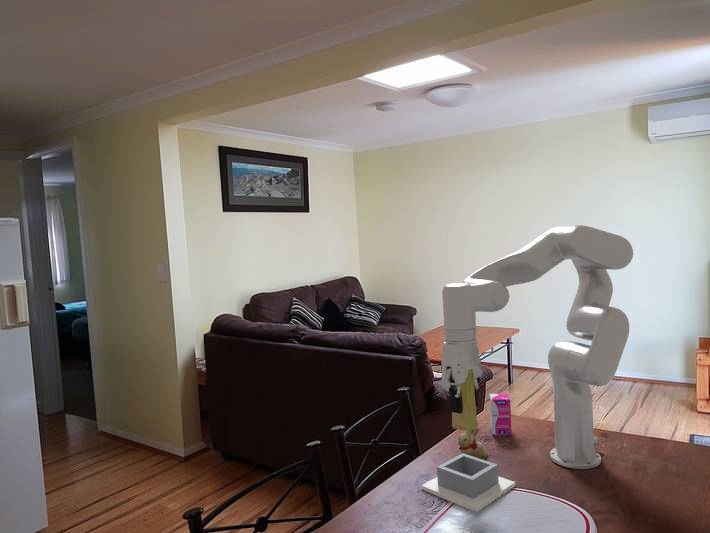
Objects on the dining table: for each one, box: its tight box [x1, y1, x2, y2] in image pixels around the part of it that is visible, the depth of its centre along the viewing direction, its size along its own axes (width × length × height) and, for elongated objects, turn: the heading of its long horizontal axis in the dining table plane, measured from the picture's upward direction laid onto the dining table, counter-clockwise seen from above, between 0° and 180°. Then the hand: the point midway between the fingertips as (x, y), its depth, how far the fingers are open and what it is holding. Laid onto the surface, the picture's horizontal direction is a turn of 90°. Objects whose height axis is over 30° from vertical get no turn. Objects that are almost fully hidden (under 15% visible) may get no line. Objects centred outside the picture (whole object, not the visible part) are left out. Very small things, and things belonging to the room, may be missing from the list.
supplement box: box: [488, 393, 513, 437], centre depth 159 cm, size 6×6×12 cm
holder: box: [421, 453, 516, 513], centre depth 127 cm, size 16×16×6 cm
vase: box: [451, 369, 479, 432], centre depth 126 cm, size 6×6×14 cm
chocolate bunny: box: [458, 426, 488, 460], centre depth 143 cm, size 6×8×10 cm
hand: (464, 408), depth 126 cm, fingers closed on vase, 5 cm apart
